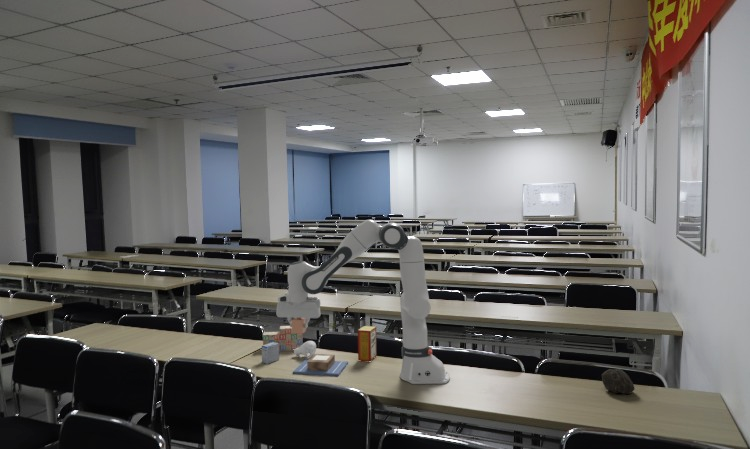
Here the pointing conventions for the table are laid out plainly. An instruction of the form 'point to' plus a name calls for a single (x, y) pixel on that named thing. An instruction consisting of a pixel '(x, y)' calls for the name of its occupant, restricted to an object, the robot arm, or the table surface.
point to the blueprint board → (312, 372)
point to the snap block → (298, 325)
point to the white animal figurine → (306, 349)
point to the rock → (617, 381)
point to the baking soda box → (367, 343)
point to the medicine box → (270, 352)
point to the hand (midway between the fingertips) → (298, 327)
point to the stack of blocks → (284, 338)
